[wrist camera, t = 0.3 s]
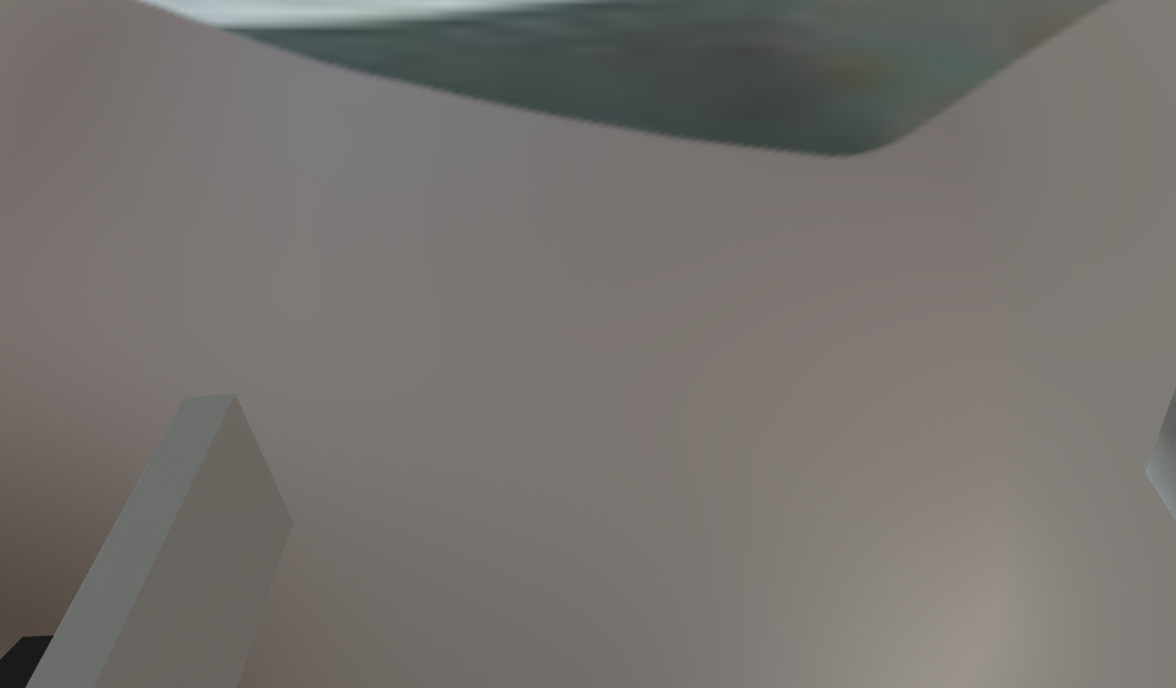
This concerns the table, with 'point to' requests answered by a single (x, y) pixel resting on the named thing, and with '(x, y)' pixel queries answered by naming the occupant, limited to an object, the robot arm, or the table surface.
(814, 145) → the table surface
